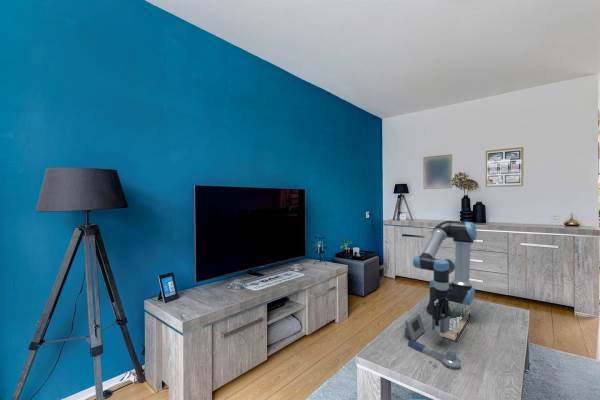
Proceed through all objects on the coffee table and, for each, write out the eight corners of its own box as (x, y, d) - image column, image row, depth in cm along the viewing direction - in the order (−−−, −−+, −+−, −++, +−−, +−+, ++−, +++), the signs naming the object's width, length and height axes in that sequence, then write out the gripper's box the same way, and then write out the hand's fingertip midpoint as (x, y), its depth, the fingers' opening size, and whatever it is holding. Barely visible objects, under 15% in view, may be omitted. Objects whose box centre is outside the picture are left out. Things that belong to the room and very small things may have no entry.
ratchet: (413, 342, 156) (413, 332, 156) (463, 365, 135) (463, 354, 135) (405, 347, 151) (405, 337, 151) (455, 371, 130) (456, 360, 130)
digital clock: (412, 342, 156) (412, 323, 156) (399, 335, 164) (399, 317, 163) (429, 334, 165) (429, 316, 164) (416, 328, 172) (416, 311, 172)
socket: (437, 325, 159) (437, 309, 158) (449, 329, 154) (449, 313, 153) (432, 329, 155) (432, 313, 154) (443, 333, 150) (444, 317, 149)
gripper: (442, 282, 162) (442, 320, 163) (425, 290, 150) (425, 332, 151) (456, 286, 156) (455, 325, 157) (439, 294, 144) (439, 337, 145)
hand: (440, 328), depth 154 cm, fingers closed on socket, 6 cm apart
